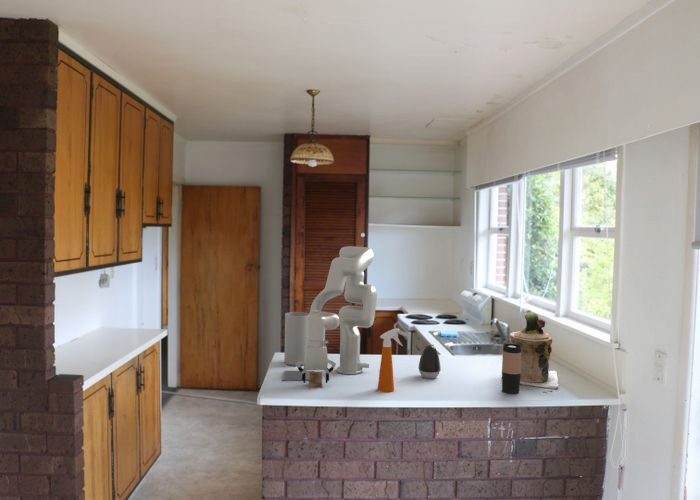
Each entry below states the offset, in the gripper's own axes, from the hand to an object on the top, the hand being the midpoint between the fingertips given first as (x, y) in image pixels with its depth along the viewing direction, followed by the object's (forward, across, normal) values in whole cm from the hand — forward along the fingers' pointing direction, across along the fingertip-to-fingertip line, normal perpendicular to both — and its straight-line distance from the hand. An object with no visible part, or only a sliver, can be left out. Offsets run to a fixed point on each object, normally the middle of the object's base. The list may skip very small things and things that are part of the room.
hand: (315, 382), depth 225 cm
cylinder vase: (+2, +10, -37) cm, 38 cm away
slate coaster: (+2, +8, -14) cm, 16 cm away
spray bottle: (+2, -32, +5) cm, 32 cm away
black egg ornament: (+2, -53, -14) cm, 55 cm away
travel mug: (+2, -84, +7) cm, 84 cm away
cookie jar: (+2, -100, -12) cm, 101 cm away
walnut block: (+2, 0, 0) cm, 2 cm away
